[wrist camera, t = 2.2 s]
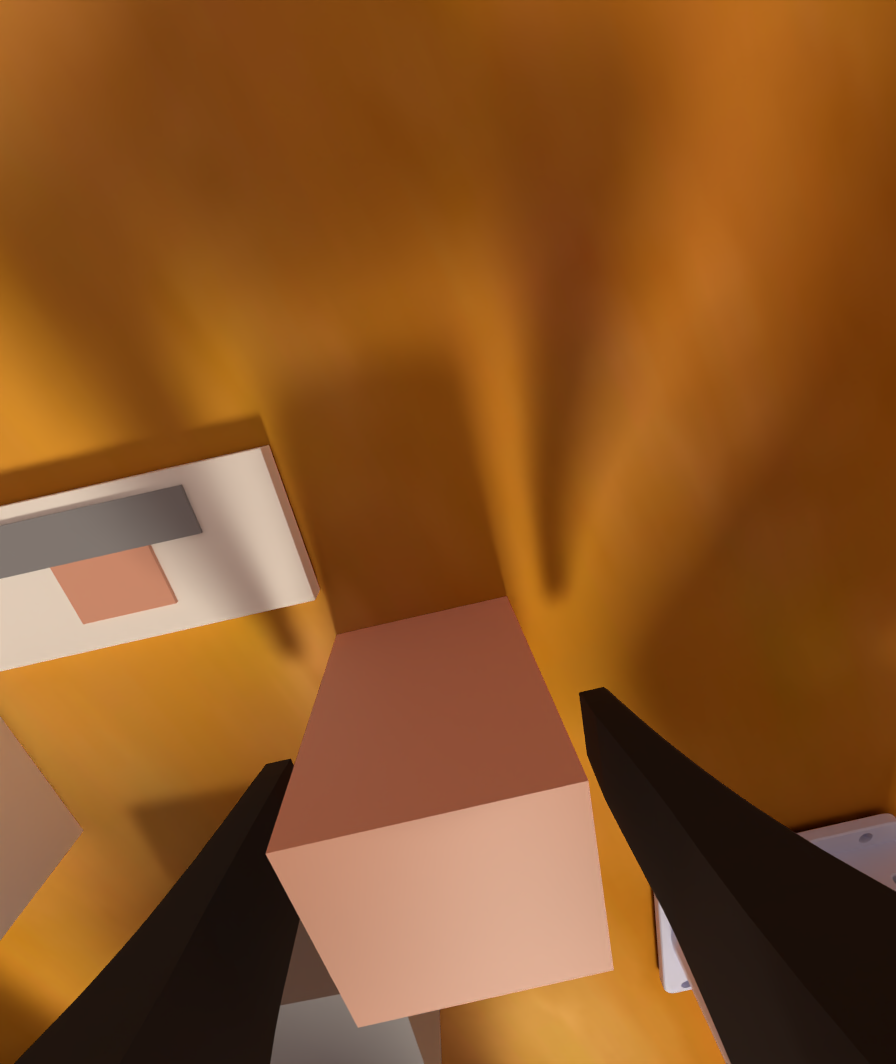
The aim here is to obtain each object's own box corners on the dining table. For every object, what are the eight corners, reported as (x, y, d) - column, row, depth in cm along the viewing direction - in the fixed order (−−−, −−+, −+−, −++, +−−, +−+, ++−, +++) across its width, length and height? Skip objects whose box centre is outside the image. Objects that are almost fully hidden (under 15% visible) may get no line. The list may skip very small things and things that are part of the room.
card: (269, 444, 10) (258, 448, 9) (320, 589, 11) (314, 601, 11) (-94, 527, 10) (-130, 536, 9) (-1, 662, 11) (-26, 678, 11)
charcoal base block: (401, 834, 15) (396, 983, 11) (438, 963, 18) (444, 1119, 14) (181, 875, 15) (101, 1039, 11) (251, 999, 18) (206, 1167, 14)
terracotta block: (506, 595, 12) (588, 780, 6) (531, 727, 14) (613, 970, 8) (336, 633, 12) (265, 853, 6) (382, 761, 14) (357, 1027, 8)
